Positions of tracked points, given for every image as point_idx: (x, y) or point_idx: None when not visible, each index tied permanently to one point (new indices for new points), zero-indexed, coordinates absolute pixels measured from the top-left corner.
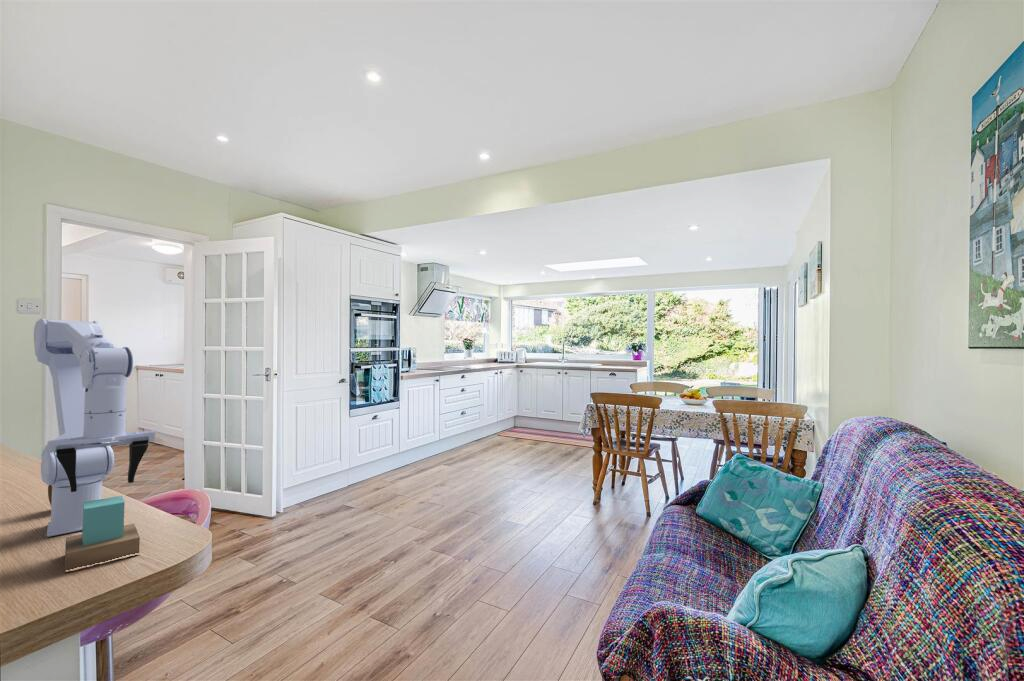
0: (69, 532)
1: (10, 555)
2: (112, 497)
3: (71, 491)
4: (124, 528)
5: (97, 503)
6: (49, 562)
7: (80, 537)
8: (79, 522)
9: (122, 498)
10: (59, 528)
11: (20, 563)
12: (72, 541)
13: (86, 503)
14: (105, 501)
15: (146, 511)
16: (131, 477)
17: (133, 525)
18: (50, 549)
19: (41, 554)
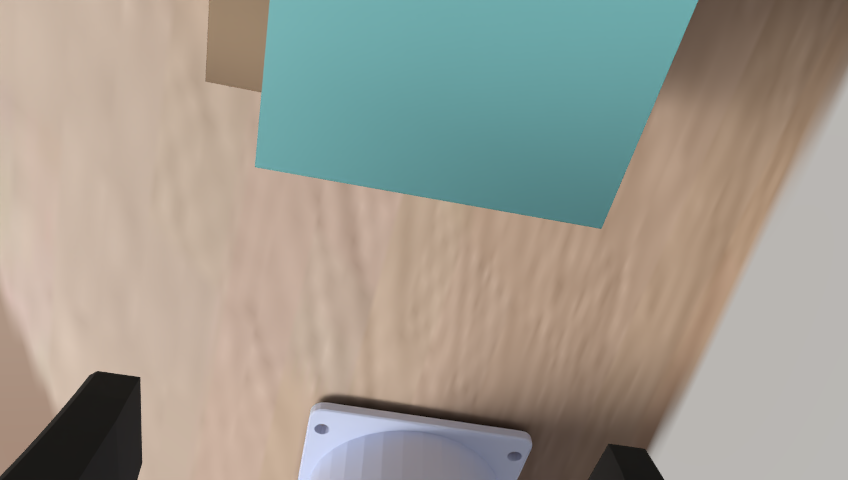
0: (451, 421)
1: (709, 325)
2: (348, 174)
3: (647, 456)
4: None
5: (544, 32)
6: None
7: None
8: (411, 456)
9: (273, 19)
10: (482, 466)
11: (748, 170)
12: None
13: (609, 147)
14: (455, 45)
15: None
16: (87, 419)
17: (217, 34)
18: (583, 265)
19: (637, 225)
